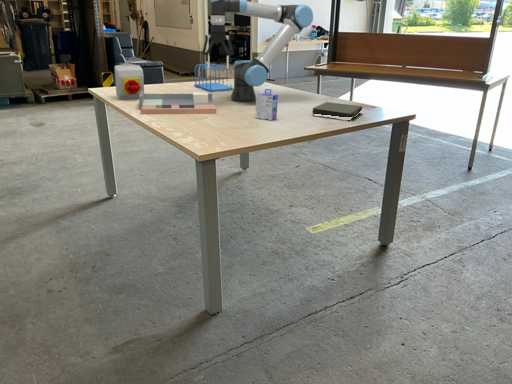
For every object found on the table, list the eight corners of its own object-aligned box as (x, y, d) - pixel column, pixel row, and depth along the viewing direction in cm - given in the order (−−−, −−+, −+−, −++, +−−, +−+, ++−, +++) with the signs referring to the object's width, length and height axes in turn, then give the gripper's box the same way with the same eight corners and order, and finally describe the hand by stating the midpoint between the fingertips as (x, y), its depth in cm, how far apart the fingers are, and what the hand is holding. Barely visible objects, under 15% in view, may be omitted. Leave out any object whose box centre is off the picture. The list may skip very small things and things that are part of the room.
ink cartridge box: (277, 119, 218) (278, 89, 212) (271, 121, 213) (273, 91, 208) (260, 116, 222) (261, 87, 217) (254, 118, 218) (255, 89, 212)
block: (207, 100, 246) (207, 92, 244) (208, 102, 238) (208, 94, 237) (193, 100, 244) (192, 92, 243) (193, 102, 237) (193, 94, 235)
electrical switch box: (120, 105, 248) (118, 70, 238) (116, 97, 260) (114, 63, 250) (146, 104, 254) (144, 70, 244) (141, 96, 265) (139, 63, 255)
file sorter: (194, 86, 305) (193, 64, 299) (216, 85, 313) (216, 63, 307) (210, 92, 285) (209, 68, 279) (233, 90, 294) (233, 67, 288)
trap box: (212, 103, 251) (211, 90, 248) (216, 113, 225) (216, 100, 223) (142, 103, 244) (141, 91, 241) (138, 114, 219) (137, 100, 216)
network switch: (356, 123, 216) (357, 113, 214) (310, 118, 223) (311, 108, 222) (362, 114, 237) (363, 104, 235) (320, 109, 244) (320, 100, 242)
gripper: (196, 24, 222) (197, 68, 231) (239, 25, 226) (239, 69, 235) (196, 23, 229) (197, 67, 238) (238, 24, 233) (237, 67, 242)
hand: (218, 68), depth 236 cm, fingers open, 10 cm apart
